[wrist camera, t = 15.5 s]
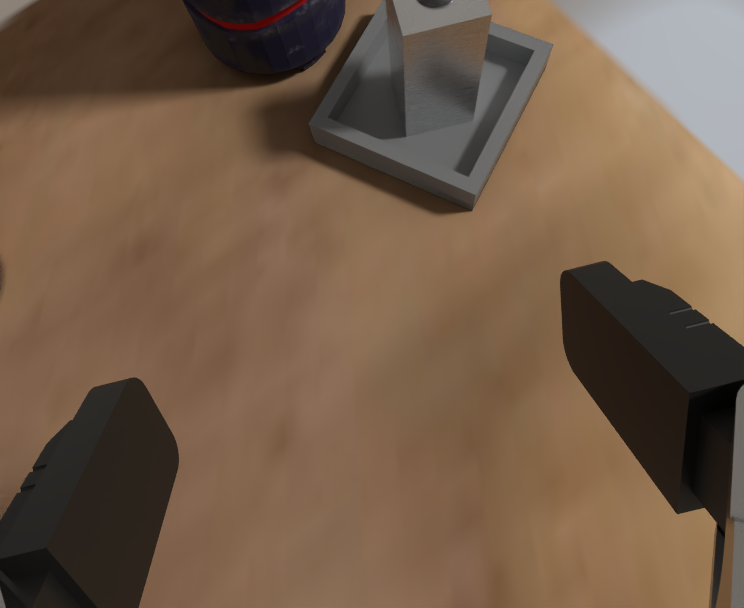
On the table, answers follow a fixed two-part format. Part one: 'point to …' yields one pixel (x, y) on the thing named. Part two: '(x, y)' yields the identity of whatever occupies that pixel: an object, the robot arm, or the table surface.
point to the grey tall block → (436, 60)
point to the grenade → (267, 31)
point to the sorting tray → (439, 147)
